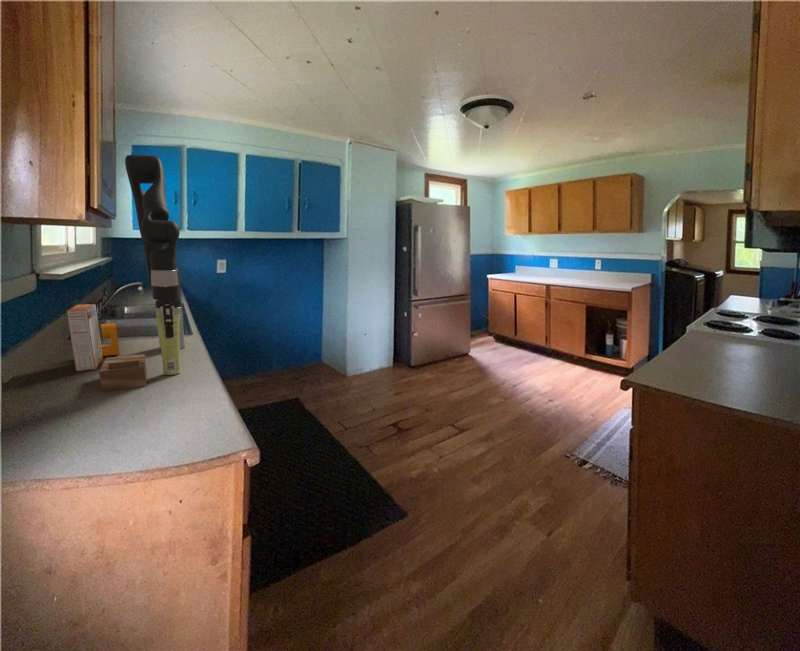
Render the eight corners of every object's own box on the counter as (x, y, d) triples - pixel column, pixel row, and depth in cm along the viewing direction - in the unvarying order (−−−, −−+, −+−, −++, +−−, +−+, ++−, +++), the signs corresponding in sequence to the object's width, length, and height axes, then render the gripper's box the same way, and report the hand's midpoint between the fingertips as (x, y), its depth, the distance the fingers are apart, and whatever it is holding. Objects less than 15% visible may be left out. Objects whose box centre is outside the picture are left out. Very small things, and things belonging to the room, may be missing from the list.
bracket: (96, 352, 160) (92, 322, 158) (118, 350, 164) (114, 321, 162) (96, 359, 152) (92, 327, 149) (119, 356, 156) (116, 325, 154)
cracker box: (83, 361, 148) (75, 304, 144) (103, 359, 151) (96, 303, 147) (74, 372, 136) (65, 310, 132) (96, 370, 139) (88, 309, 135)
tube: (168, 370, 139) (163, 314, 135) (184, 370, 140) (179, 314, 136) (160, 375, 134) (155, 317, 130) (177, 375, 134) (172, 317, 130)
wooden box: (107, 376, 132) (105, 357, 131) (147, 371, 138) (145, 354, 137) (101, 391, 119) (99, 371, 118) (146, 386, 124) (144, 366, 123)
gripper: (151, 282, 135) (156, 333, 138) (151, 286, 123) (156, 342, 126) (177, 281, 139) (181, 331, 142) (179, 285, 127) (183, 339, 130)
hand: (169, 335), depth 134 cm, fingers closed on tube, 4 cm apart
